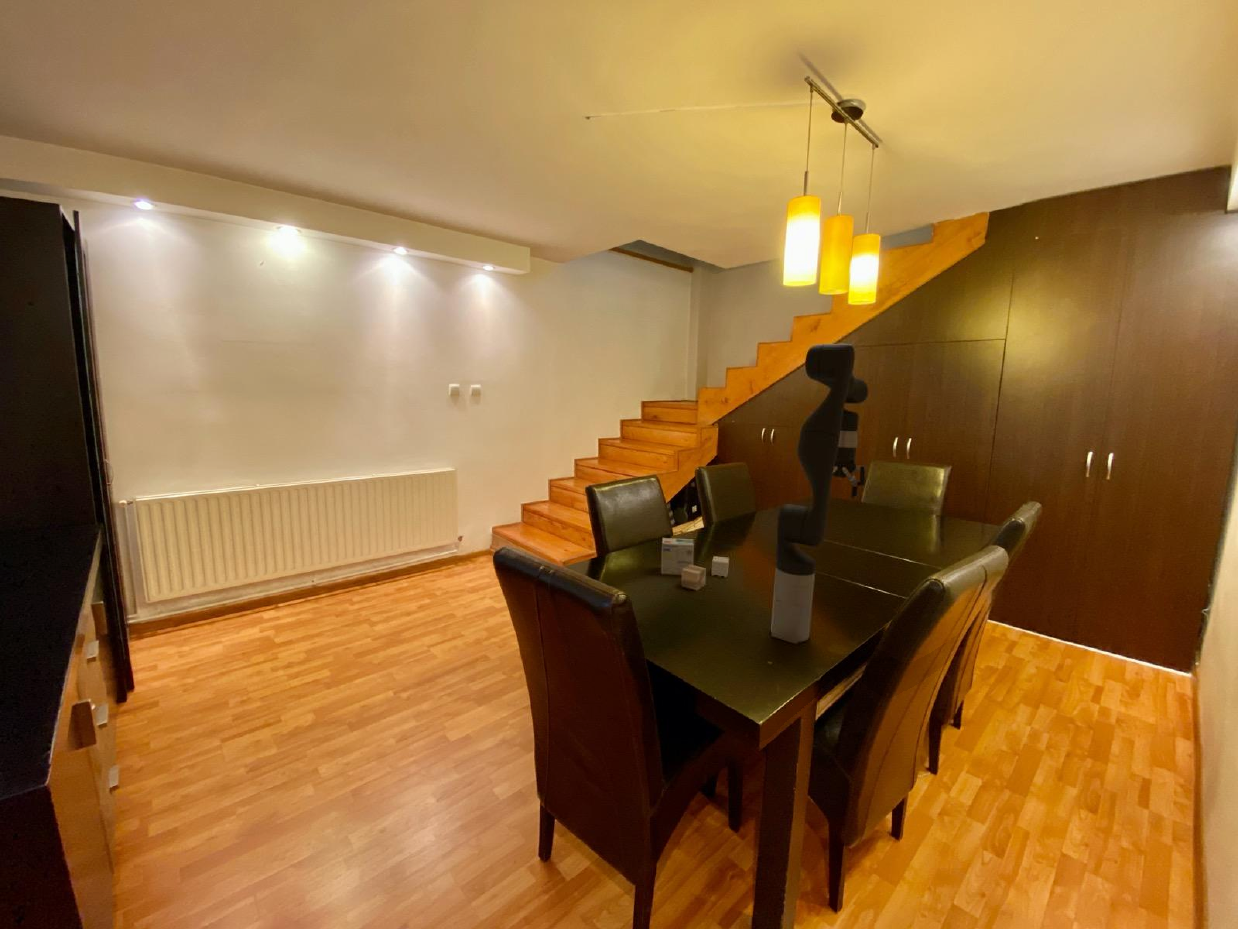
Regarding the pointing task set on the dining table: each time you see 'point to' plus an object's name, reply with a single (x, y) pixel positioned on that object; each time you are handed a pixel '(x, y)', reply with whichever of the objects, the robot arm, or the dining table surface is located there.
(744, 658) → the dining table surface
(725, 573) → the grey block
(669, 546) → the light bulb box
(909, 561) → the dining table surface
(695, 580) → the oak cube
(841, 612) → the dining table surface
